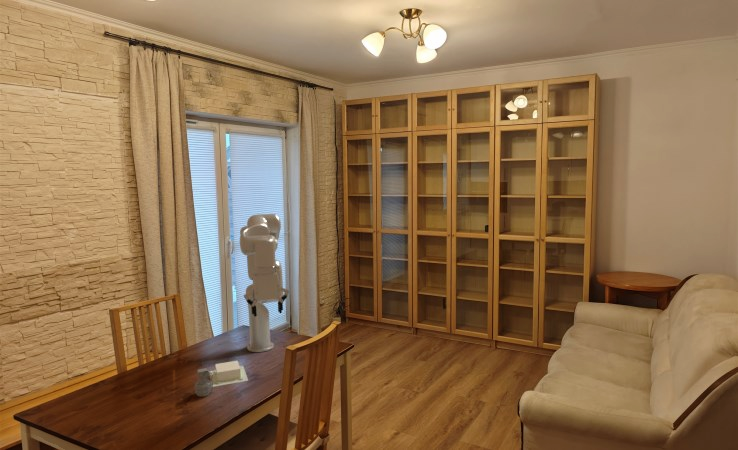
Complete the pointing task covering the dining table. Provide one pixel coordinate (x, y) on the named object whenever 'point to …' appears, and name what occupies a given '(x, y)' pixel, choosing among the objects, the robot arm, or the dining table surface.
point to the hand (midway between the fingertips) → (267, 314)
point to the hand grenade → (203, 383)
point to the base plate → (218, 383)
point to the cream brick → (228, 371)
